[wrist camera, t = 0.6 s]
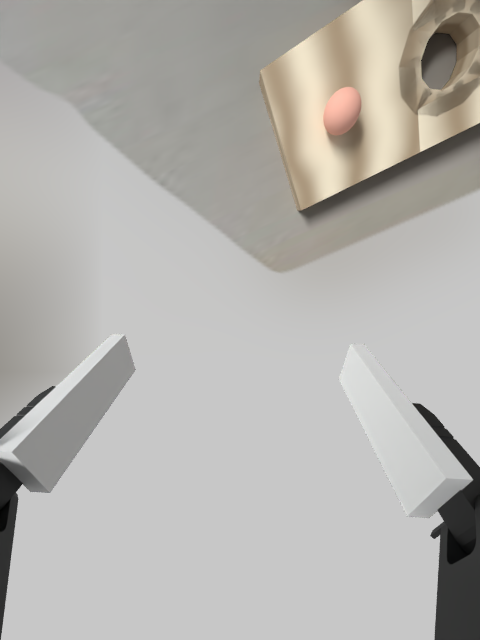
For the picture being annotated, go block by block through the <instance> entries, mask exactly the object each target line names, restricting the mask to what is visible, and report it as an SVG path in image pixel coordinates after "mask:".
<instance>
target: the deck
mask: <svg viewBox="0 0 480 640" xmlns="http://www.w3.org/2000/svg"><path fill="white" fill-rule="evenodd" d="M435 33H446V34H450V36H451V37H452V39H453V40H454V42H455V43H456V45H457V62H456V65H455V67H454V70H453V72H452V75H451V77H450V80H449V81H448V82H447V83H446V85H445V86H444V87H443V88H442V89H441V90H436V89H429V87H428V86H427V85H426V83H425V82H424V81H423V79H422V74H421V59H422V56H423V53H424V50H425V47H426V45H427V42H428V40H429V38H430V37H431V36H432V35H433V34H435ZM259 84H260V87H261V91H262V94H263V97H264V101H265V104H266V107H267V111H268V114H269V117H270V121H271V124H272V127H273V131H274V134H275V137H276V141H277V144H278V147H279V151H280V154H281V157H282V161H283V164H284V167H285V171H286V174H287V177H288V181H289V184H290V187H291V191H292V194H293V197H294V201H295V204H296V207H297V210H300V211H301V210H303V209H305V208H308V207H310V206H312V205H314V204H316V203H318V202H320V201H322V200H324V199H326V198H328V197H330V196H332V195H334V194H336V193H338V192H340V191H342V190H344V189H346V188H348V187H350V186H352V185H354V184H356V183H358V182H360V181H363V180H365V179H367V178H369V177H371V176H373V175H375V174H377V173H379V172H381V171H383V170H385V169H387V168H389V167H391V166H393V165H395V164H397V163H399V162H401V161H403V160H405V159H407V158H409V157H411V156H413V155H415V154H418V153H420V152H422V151H424V150H426V149H428V148H430V147H432V146H434V145H436V144H438V143H440V142H442V141H444V140H446V139H448V138H450V137H452V136H454V135H456V134H458V133H460V132H462V131H464V130H466V129H468V128H470V127H473V126H475V125H477V124H479V123H480V0H363V1H361V2H360V3H358V4H357V5H355V6H354V7H352V8H351V9H349V10H348V11H346V12H345V13H344V14H342V15H341V16H339V17H338V18H336V19H335V20H333V21H332V22H330V23H329V24H327V25H326V26H325V27H323V28H322V29H320V30H319V31H317V32H316V33H314V34H313V35H311V36H310V37H308V38H307V39H306V40H304V41H303V42H301V43H300V44H298V45H297V46H295V47H294V48H292V49H291V50H289V51H288V52H287V53H285V54H284V55H282V56H281V57H279V58H278V59H276V60H275V61H273V62H272V63H270V64H269V65H268V66H266V67H265V68H263V69H262V70H260V81H259ZM344 87H353V88H355V89H356V90H357V91H358V92H359V94H360V97H361V103H362V104H361V111H360V114H359V117H358V119H357V121H356V123H355V124H354V125H353V127H352V128H351V129H350V130H349V131H347V132H346V133H344V134H342V135H332V134H330V133H329V132H327V130H326V129H325V126H324V122H323V115H324V110H325V107H326V105H327V103H328V101H329V99H330V98H331V96H332V95H333V94H334V93H335V92H336V91H338V90H339V89H341V88H344Z"/></svg>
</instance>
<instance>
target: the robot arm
mask: <svg viewBox="0 0 480 640" xmlns="http://www.w3.org/2000/svg"><path fill="white" fill-rule="evenodd" d="M134 371H135V367H134V363H133V360H132V357H131V353H130V350H129V347H128V343H127V340H126V337H125V335H123V334H122V335H121V334H112V335H111V336H110V337H108V339H107V340H105V341H104V342H103V343H102V344H101V345H100V346H99V347H98V348H97V349H96V350H95V351H94V352H92V353H91V354H90V356H88V357H87V358H86V359H85V360H84V361H83V362H82V363H81V364H80V365H79V366H78V367H76V368H75V369H74V370H73V371H72V372H71V373H70V374H69V375H68V376H67V377H66V378H65V379H64V380H63V381H62V382H61V383H59V384H58V385H57V386H56V387H55V386H52V387H50V388H49V389H47V390H46V391H44V392H42V393H41V394H39V395H38V396H37V397H35V398H34V399H33V400H32V401H31V402H30V403H29V404H28V405H27V407H24V408H23V409H22V410H21V411H20V412H19V413H18V414H17V416H14V417H13V418H12V419H11V420H10V421H9V422H8V423H6V424H5V425H4V426H3V427H2V428H1V429H0V640H1V633H2V625H3V617H4V609H5V600H6V593H7V585H8V576H9V569H10V560H11V552H12V544H13V537H14V528H15V520H16V513H17V505H18V495H17V494H16V491H17V490H18V489H19V488H20V486H21V485H22V484H23V485H24V486H25V487H26V488H27V489H28V490H29V491H30V492H45V493H50V492H51V491H52V489H53V488H54V486H55V485H56V484H57V482H58V481H59V479H60V478H61V476H62V475H63V473H64V472H65V470H66V469H67V468H68V466H69V465H70V463H71V462H72V460H73V459H74V458H75V456H76V455H77V453H78V452H79V450H80V449H81V448H82V446H83V444H84V443H85V442H86V440H87V439H88V437H89V436H90V435H91V433H92V432H93V430H94V429H95V427H96V426H97V425H98V423H99V421H100V420H101V419H102V417H103V416H104V414H105V413H106V412H107V410H108V409H109V407H110V406H111V404H112V403H113V402H114V400H115V399H116V397H117V396H118V394H119V393H120V391H121V390H122V389H123V387H124V386H125V384H126V383H127V381H128V380H129V378H130V377H131V376H132V374H133V373H134ZM339 381H340V383H341V385H342V387H343V389H344V391H345V393H346V395H347V397H348V399H349V401H350V403H351V405H352V407H353V409H354V411H355V413H356V415H357V417H358V419H359V421H360V423H361V425H362V427H363V429H364V431H365V433H366V435H367V437H368V439H369V441H370V443H371V445H372V447H373V449H374V451H375V453H376V455H377V457H378V459H379V461H380V463H381V465H382V467H383V469H384V471H385V473H386V475H387V477H388V479H389V481H390V483H391V485H392V487H393V489H394V491H395V493H396V495H397V497H398V499H399V501H400V503H401V505H402V507H403V509H404V511H405V513H406V515H407V517H422V518H430V517H431V516H432V515H433V514H435V512H437V511H438V512H439V513H440V515H441V517H442V518H443V520H444V522H443V523H442V524H440V525H439V526H438V527H436V528H435V529H434V530H433V531H432V533H431V537H432V538H434V539H435V538H436V537H438V536H439V535H440V534H441V535H440V553H439V554H440V555H439V571H438V590H437V606H436V623H435V640H480V467H479V466H478V465H477V464H476V462H475V461H474V460H473V459H472V458H471V457H470V456H469V454H467V452H466V451H465V450H464V449H463V448H462V446H461V445H460V444H459V443H458V442H457V441H456V440H454V439H453V436H452V435H451V434H450V433H449V431H448V430H447V429H445V428H444V426H443V424H442V423H441V422H440V421H439V420H438V419H437V417H436V416H435V415H434V414H433V413H431V412H430V411H429V410H427V409H426V408H425V407H424V406H422V405H421V404H415V403H411V402H410V400H409V399H408V398H407V397H406V396H405V394H404V393H403V392H402V390H401V389H400V388H399V387H398V385H397V384H396V383H395V382H394V381H393V379H392V378H391V377H390V376H389V374H388V373H387V372H386V371H385V369H384V368H383V367H382V366H381V364H380V363H379V362H378V361H377V360H376V358H375V357H374V356H373V354H372V353H371V352H370V351H369V349H368V348H367V347H366V346H365V345H364V344H350V347H349V350H348V353H347V356H346V359H345V362H344V365H343V368H342V371H341V374H340V376H339Z"/></svg>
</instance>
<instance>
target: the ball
mask: <svg viewBox="0 0 480 640" xmlns="http://www.w3.org/2000/svg"><path fill="white" fill-rule="evenodd" d="M361 104H362V103H361V97H360V94H359V92H358V91H357V90H356V89H355V88H353V87H344V88H341V89H339V90H338V91H336V92H335V93H334V94H333V95H332V96H331V98H330V99H329V101H328V103H327V105H326V107H325V110H324V115H323V122H324V126H325V129H326V130H327V132H329V133H330V134H332V135H342V134H344V133H346V132H347V131H349V130H350V129H351V128H352V127H353V125H354V124H355V123H356V121H357V119H358V117H359V114H360V111H361Z"/></svg>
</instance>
